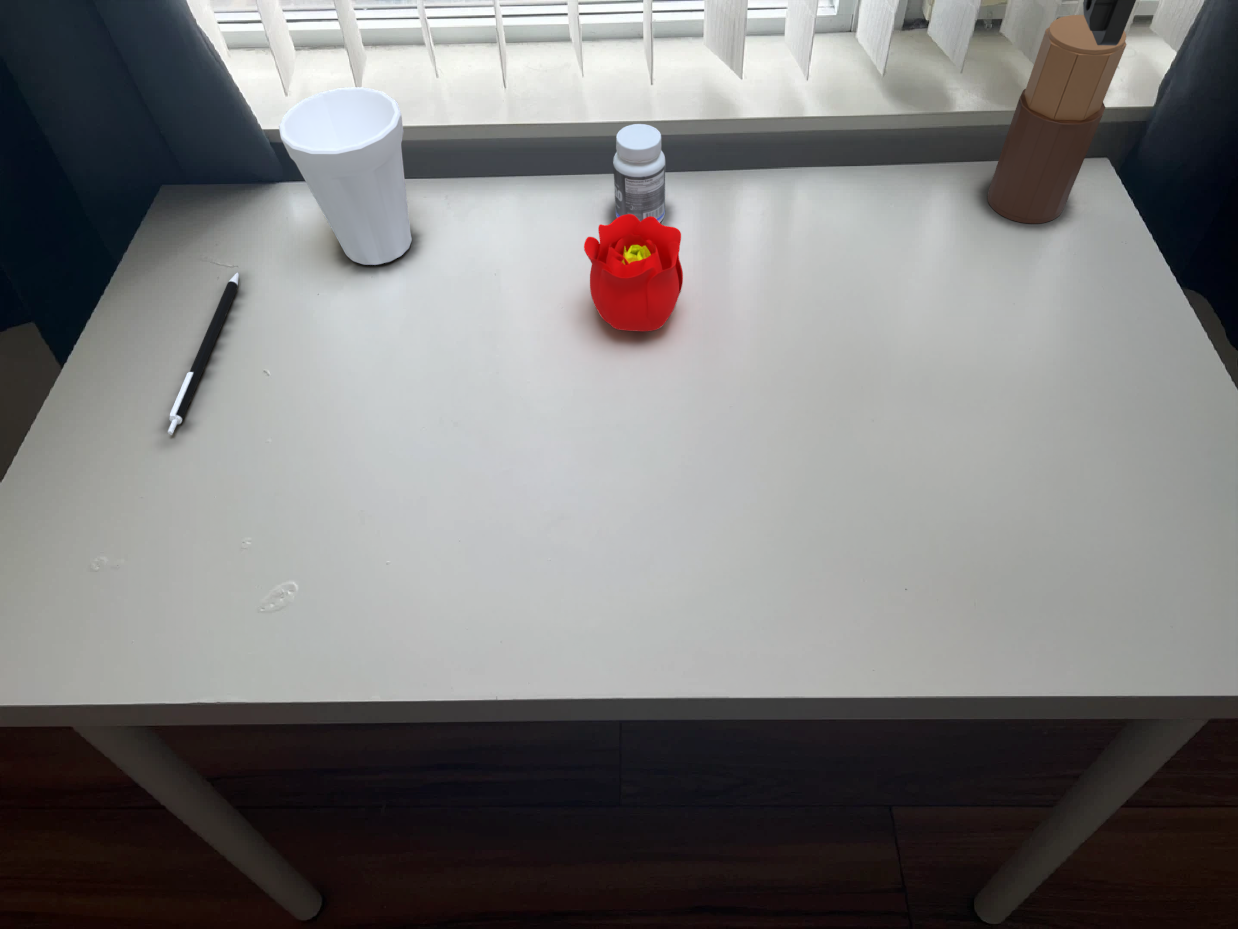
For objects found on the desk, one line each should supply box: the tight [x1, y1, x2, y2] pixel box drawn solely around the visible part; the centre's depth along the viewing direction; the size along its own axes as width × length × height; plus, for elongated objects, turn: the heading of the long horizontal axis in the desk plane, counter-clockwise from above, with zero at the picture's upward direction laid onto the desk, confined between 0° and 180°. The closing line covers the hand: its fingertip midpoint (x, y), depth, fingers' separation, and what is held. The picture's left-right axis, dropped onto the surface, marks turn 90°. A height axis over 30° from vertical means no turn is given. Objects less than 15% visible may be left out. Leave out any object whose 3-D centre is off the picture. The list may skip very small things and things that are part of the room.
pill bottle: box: [612, 123, 666, 224], centre depth 82 cm, size 5×5×8 cm
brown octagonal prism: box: [1024, 14, 1128, 120], centre depth 74 cm, size 6×6×6 cm
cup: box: [278, 86, 413, 266], centre depth 79 cm, size 10×10×13 cm
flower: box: [583, 214, 684, 332], centre depth 73 cm, size 8×8×8 cm
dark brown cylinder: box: [987, 88, 1106, 225], centre depth 79 cm, size 7×7×14 cm
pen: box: [167, 271, 240, 436], centre depth 75 cm, size 1×19×1 cm, turn 179°
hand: (1208, 39), depth 38 cm, fingers open, 8 cm apart
